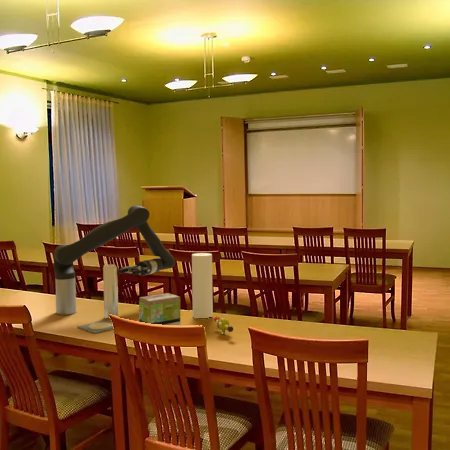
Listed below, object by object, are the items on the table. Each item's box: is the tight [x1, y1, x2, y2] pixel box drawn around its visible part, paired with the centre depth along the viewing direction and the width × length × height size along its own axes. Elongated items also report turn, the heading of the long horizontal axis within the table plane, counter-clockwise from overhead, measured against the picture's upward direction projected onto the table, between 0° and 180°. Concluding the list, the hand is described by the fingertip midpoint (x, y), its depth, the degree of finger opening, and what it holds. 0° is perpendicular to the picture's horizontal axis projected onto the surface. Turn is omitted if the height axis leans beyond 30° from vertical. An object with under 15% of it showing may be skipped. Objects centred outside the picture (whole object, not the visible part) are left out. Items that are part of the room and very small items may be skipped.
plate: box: [77, 319, 114, 335], centre depth 223 cm, size 14×14×1 cm
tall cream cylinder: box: [102, 263, 119, 320], centre depth 239 cm, size 6×6×25 cm
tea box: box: [138, 292, 181, 326], centre depth 217 cm, size 15×10×15 cm, turn 129°
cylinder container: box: [191, 252, 214, 319], centre depth 239 cm, size 9×9×30 cm
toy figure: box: [213, 316, 234, 335], centre depth 211 cm, size 18×6×7 cm, turn 21°
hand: (126, 272), depth 248 cm, fingers open, 8 cm apart
